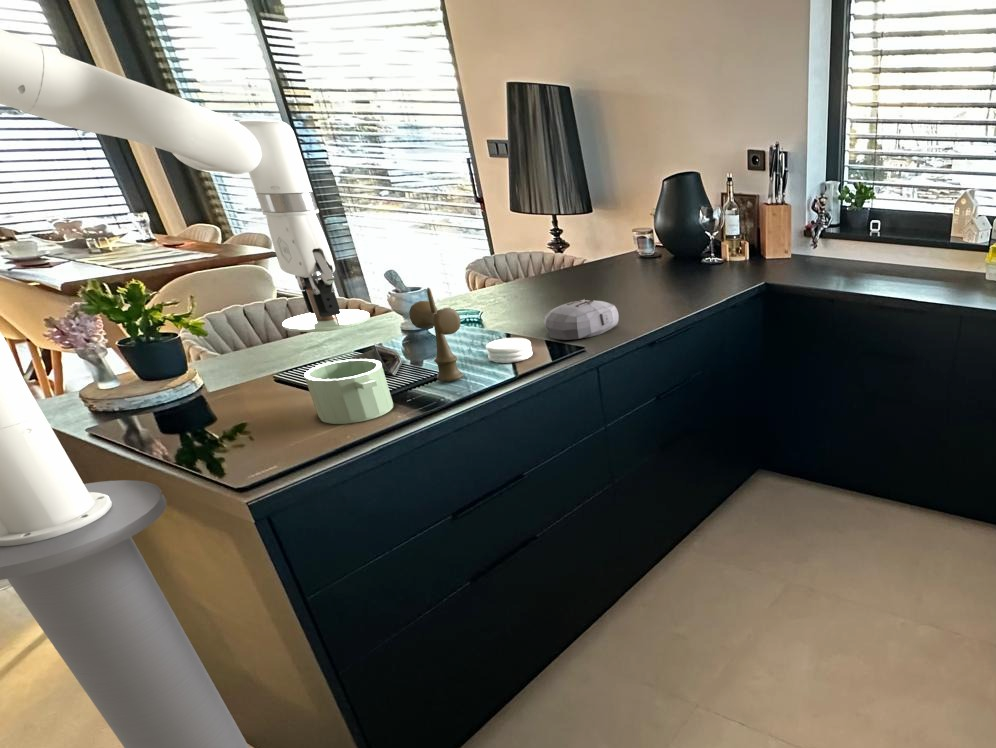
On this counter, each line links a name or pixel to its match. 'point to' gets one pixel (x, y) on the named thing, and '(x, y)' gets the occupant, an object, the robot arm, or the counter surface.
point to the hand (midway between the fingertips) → (324, 312)
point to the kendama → (438, 334)
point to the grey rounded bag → (581, 319)
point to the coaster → (509, 350)
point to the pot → (349, 391)
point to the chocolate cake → (383, 358)
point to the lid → (324, 319)
